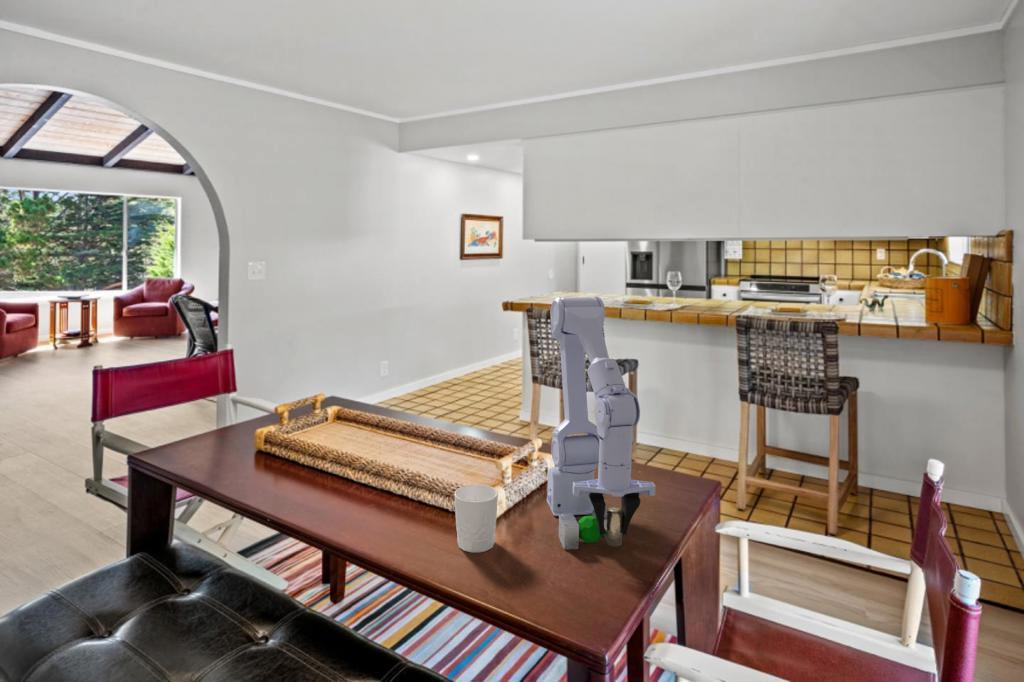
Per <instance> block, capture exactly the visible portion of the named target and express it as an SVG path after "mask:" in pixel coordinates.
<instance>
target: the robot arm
mask: <svg viewBox="0 0 1024 682" xmlns="http://www.w3.org/2000/svg"><path fill="white" fill-rule="evenodd" d="M549 313H550V330H551V336H552V339H554V340H556V341H558V343H559V350H560V352H559V353H560V366H561V367H560V368H561V383H562V385H561V386H562V396H563V397H562V398H563V413H564V415H563V416H564V420H562V422H561V423H560V424H558V425H557V426H556V427H555V428H554V429H553V431H552V434H551V435H552V436H551V438H552V439H551V446H550V449H551V451H550V452H551V453H550V454H551V459H552V462H553V464H554V465H555V466H553V467H550V468H548V471H547V495H546V496H547V497H546V502H547V505H548V507H549V508H550V511H551V512H552V515H553V516H554V517H559V514H571V513H573V515H574V516H582V515H583V516H584V515H585V516H588V515H592V511H593V510H594V511H595V514H596V518H597V524H598V531H599V534H600V535H602V536H604V513H605V508H606V502H605V497H604V495H605V496H606V495H607V496H609V495H611V496H612V497H615V498H616V497H619V498H621V499H620V500H621V505H620V506H621V509H622V510H623V524H622V536H623V535H624V536H625V535H627V534H628V530H629V526H630V524H631V520H632V519H633V517H634V514H635V512H637V510H638V508H639V507H640V505H641V498H640V496H641V495H648V496H649V497H655V496H656V484H655V483H654V482H653V481H646V480H645V481H644V480H636V479H632V478H631V477H632V475H631V474H632V460H633V459H632V455H633V435H634V434H633V432H634V426H637V425H638V423H639V421H640V417H641V407H640V402H639V399H638V397H637V395H636V394H635V393H634V392H632V390H631V389H630V388H629V387H627V386H626V383H625V381H624V378H623V374H622V373H621V370H620V367H619V365H618V363H617V361H616V360H615V359H612V358H610V357H609V352H608V349H607V345H606V339H605V337H604V333H603V329H602V328H603V326H604V322H605V318H606V308H605V303H604V302H603V300H602V298H601V297H599V296H594V297H590V296H589V297H585V296H584V297H561V296H557V297H555V298H554V299H553V301H552V303H551V306H550V312H549ZM584 352H585V353H584ZM585 354H586V356H587V359H588V361H589V363H590V365H588V369H587V375H588V379H589V381H590V382H589V383H590V384H591V388H592V391H593V393H594V398H595V401H596V402H595V406H594V415H595V420H596V424H595V423H593V422H592V421H591V420H589V411H588V409H589V408H588V395H587V380H586V366H585V365H586V364H585ZM579 434H584V435H579ZM595 470H597V473H598V474H597V478H596V479H595Z"/></svg>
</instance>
